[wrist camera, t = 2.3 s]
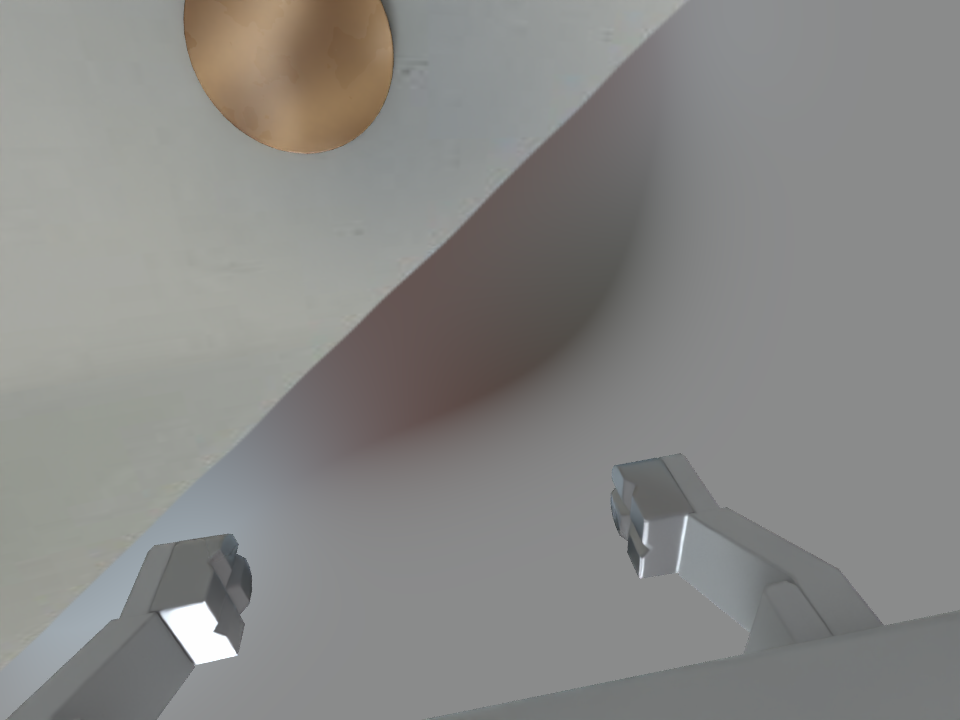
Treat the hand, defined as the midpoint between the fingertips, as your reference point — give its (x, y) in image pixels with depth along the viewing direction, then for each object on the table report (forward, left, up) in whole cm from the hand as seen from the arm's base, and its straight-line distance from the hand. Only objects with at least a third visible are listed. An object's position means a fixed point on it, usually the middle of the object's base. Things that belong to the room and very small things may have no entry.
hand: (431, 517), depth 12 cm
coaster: (-8, +4, -25) cm, 27 cm away
